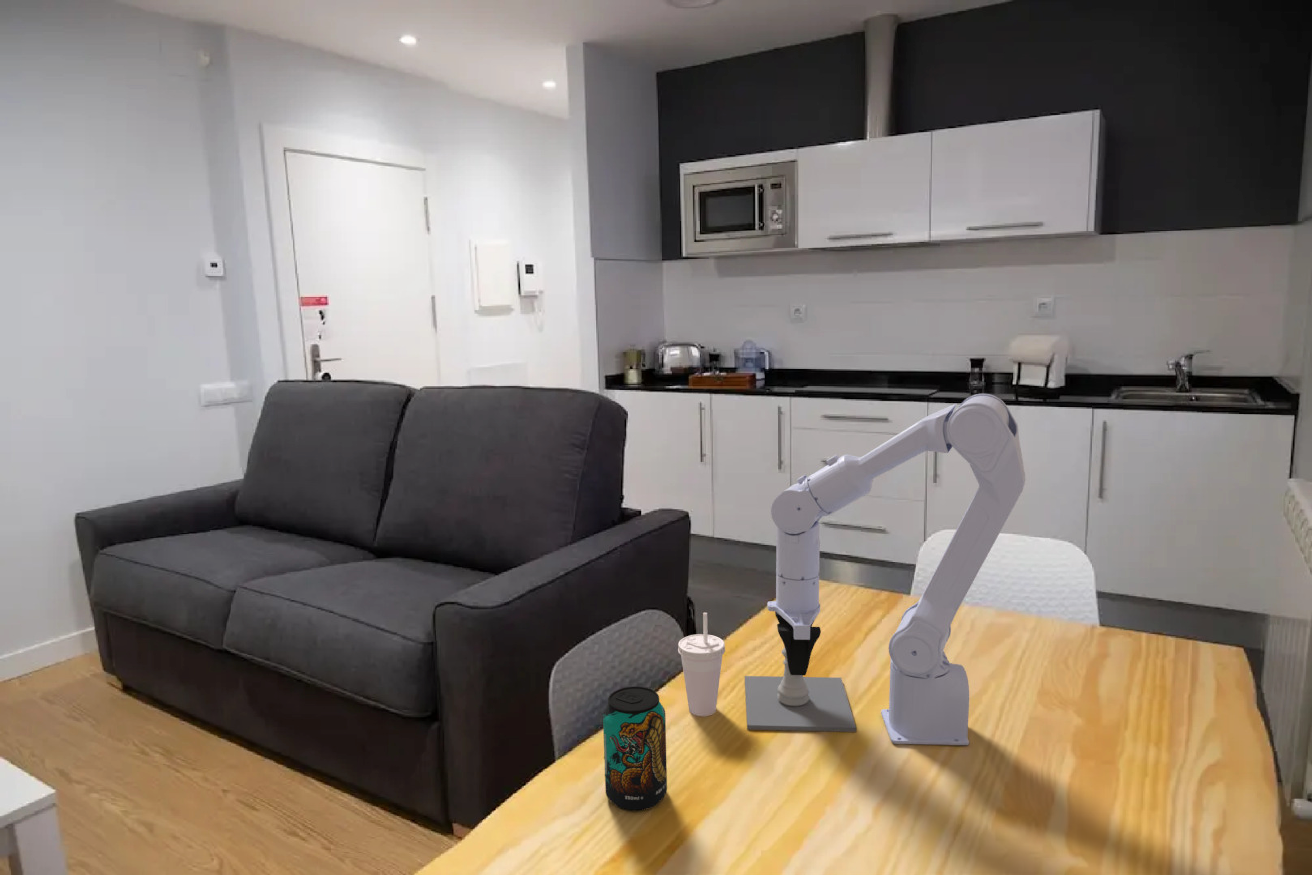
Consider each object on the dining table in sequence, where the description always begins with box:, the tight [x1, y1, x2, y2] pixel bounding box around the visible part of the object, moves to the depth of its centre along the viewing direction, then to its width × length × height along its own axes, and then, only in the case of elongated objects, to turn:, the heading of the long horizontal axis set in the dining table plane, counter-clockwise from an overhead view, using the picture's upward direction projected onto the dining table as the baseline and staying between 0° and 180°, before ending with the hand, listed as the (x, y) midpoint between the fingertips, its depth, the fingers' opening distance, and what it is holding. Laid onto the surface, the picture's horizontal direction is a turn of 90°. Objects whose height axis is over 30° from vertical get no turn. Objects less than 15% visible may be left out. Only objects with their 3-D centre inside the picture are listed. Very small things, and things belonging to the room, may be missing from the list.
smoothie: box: [677, 612, 726, 717], centre depth 112 cm, size 6×6×14 cm
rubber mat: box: [744, 675, 857, 733], centre depth 114 cm, size 14×14×1 cm
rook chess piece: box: [777, 646, 810, 707], centre depth 114 cm, size 4×4×8 cm
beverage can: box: [602, 686, 668, 812], centre depth 94 cm, size 7×7×12 cm
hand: (796, 667), depth 114 cm, fingers open, 3 cm apart
